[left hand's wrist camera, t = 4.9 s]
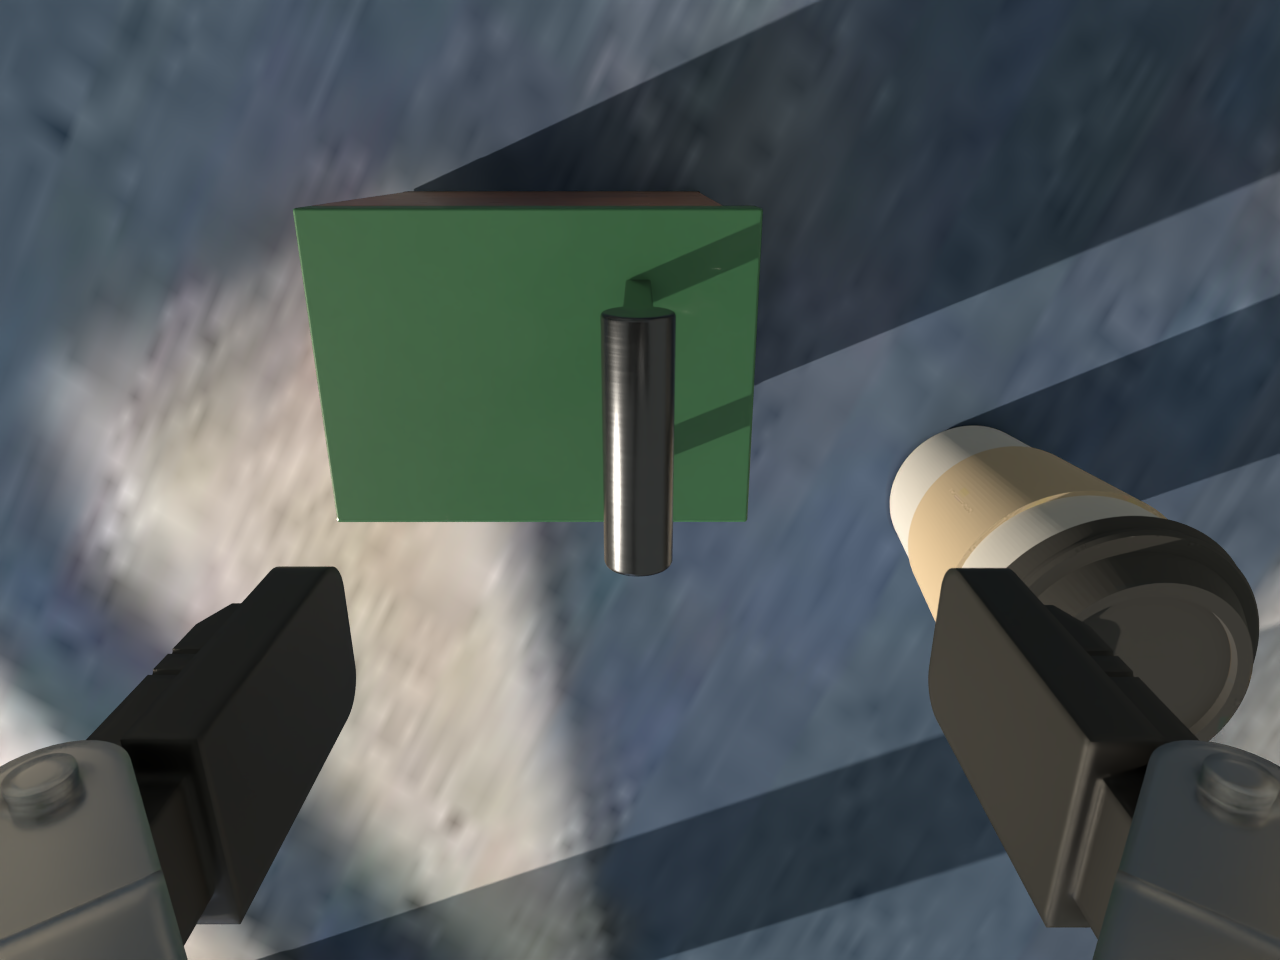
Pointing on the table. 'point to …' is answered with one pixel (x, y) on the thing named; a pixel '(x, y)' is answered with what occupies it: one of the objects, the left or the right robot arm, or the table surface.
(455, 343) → the lid
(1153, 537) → the coffee cup
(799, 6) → the table surface
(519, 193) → the chest
